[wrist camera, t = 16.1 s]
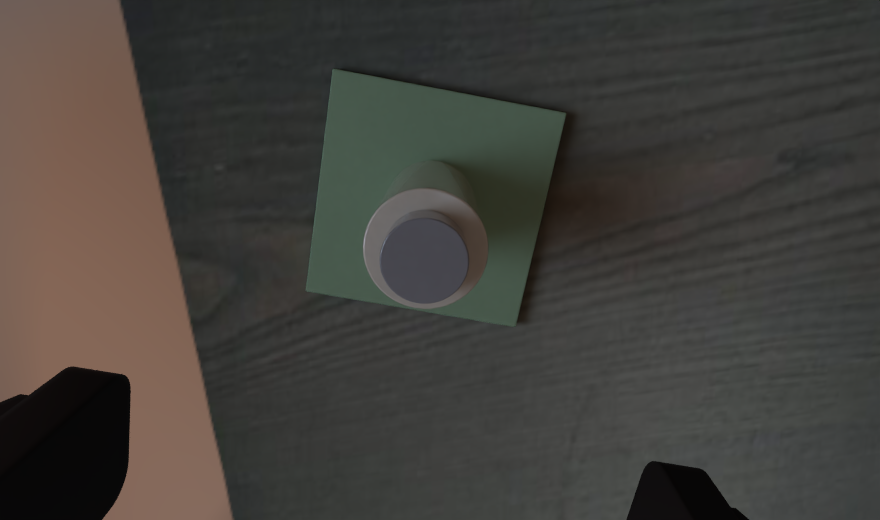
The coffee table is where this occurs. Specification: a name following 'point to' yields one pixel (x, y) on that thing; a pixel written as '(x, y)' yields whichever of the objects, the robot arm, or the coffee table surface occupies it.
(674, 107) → the coffee table surface
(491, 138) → the mat
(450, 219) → the spice bottle
